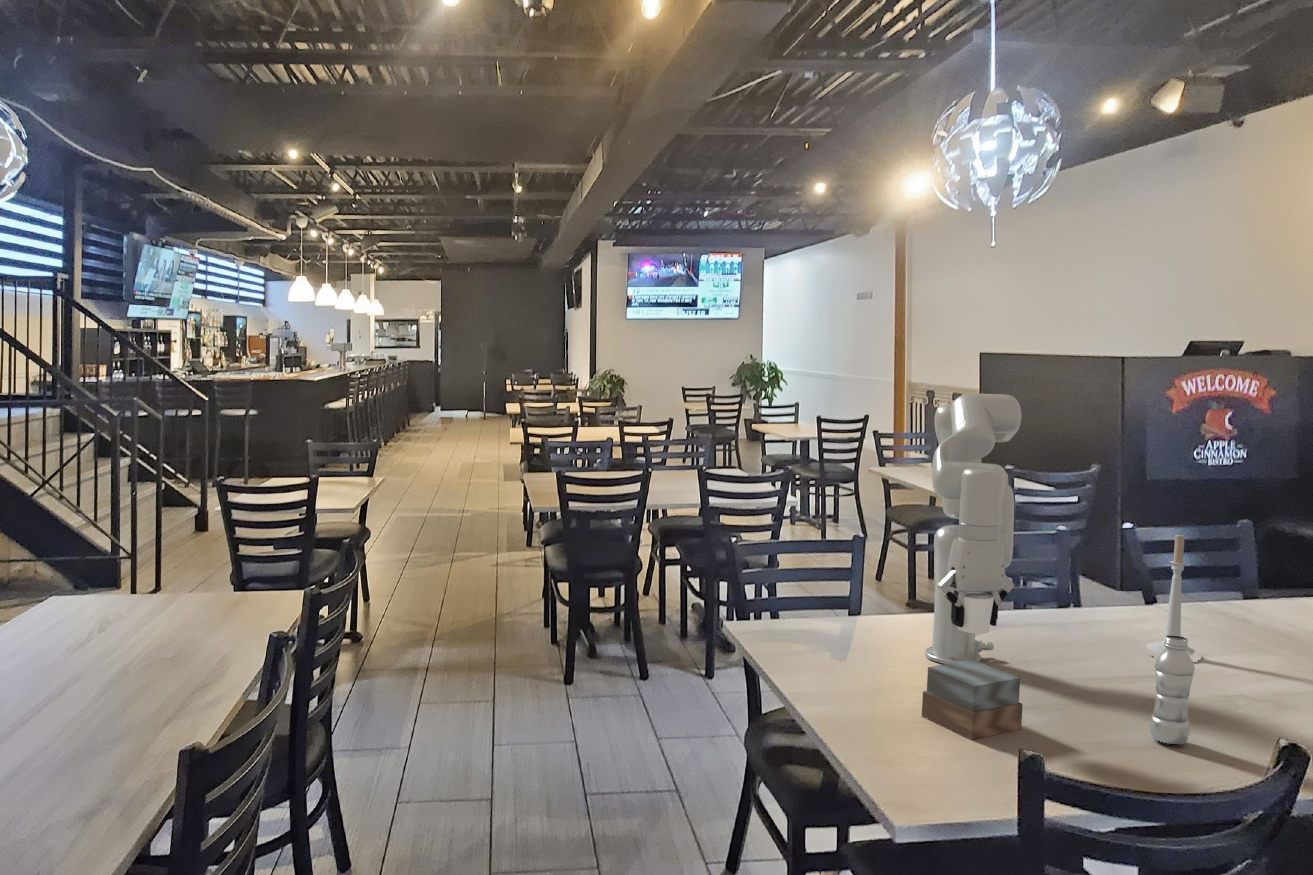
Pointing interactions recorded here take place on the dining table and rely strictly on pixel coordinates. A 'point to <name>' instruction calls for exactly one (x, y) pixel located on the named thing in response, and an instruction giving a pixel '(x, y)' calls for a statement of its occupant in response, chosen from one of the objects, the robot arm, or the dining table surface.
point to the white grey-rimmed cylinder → (977, 612)
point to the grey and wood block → (972, 699)
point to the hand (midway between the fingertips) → (973, 623)
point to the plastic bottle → (1172, 692)
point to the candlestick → (1174, 599)
